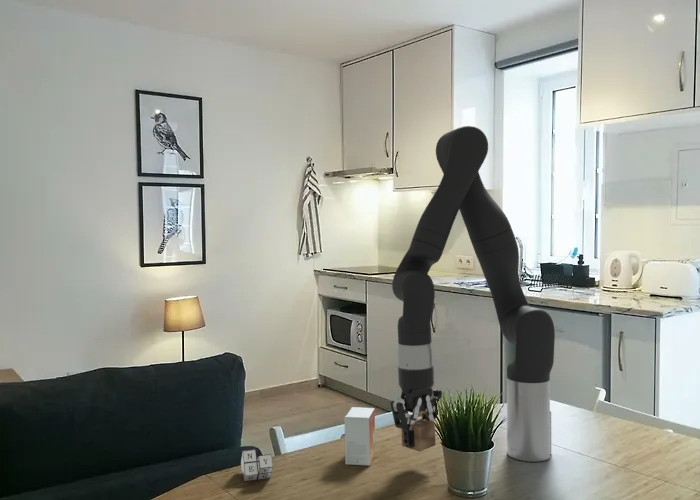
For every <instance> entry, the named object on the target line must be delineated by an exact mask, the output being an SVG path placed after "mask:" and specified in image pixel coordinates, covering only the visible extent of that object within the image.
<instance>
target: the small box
mask: <svg viewBox="0 0 700 500" xmlns="http://www.w3.org/2000/svg"><path fill="white" fill-rule="evenodd" d="M343 419H344V460H345V463H344V464H345V465H347V466H348V465H351V466H353V465H354V466H370V465H371V464H372V461H373V459H374V457H375V454H376V423H375V422H376V408H374V407H359V406H357V407H356V406H355V407H354V406H352V407H350V409H349V411H348V412H347V414H346V415H345V416H344V418H343Z"/></svg>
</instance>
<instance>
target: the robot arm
mask: <svg viewBox="0 0 700 500" xmlns="http://www.w3.org/2000/svg"><path fill="white" fill-rule="evenodd" d="M488 152H489V142H488V138H487V136H486V134H485V132H484V131H483V130H482V129H480V128H479V127H476V126H474V125H465V126H461V127H457V128H455V129H453V130H451V131H448V132H445V133H444V134H442V135H441V136H440V138H439V139H438V140H437V143H436V146H435V156H436V161H437V163H438V165H439V168H440V169H441V172H442V173H443V175H442V179H441V180H440V182H439V185H438V187H437V189H436V191H435V193H434V195H433V196H432V198H431V199H430V200H429V202H428V203H427V205H426V207H425V209H424V210H423V212H422V214H421V216H420V218H419V220H418V222H417V225H416V228H415V230H414V233H413V236H412V238H411V239H412V240H411V242H410V245H409V248H408V250H407V252H405V255H404V256H403V257H402V260H401V261H400V263H399V264H398V267H397V268H396V270H395V273H394V275H393V280H392V284H391V288H392V292H393V295H394V296H395V297H396V299H398V300H399V301H401V302H403V303H402V304H403V305H402V309H403V310H402V315H401V316H400V317H399V318H398V320H397V338H398V339H397V343H398V344H397V345H398V346H397V373H398V374H397V375H398V376H397V377H398V386H399V387H400V390H401V393H400V398H399V399H398V400H391V401H390V408H391V413H392V416H393V417H392V418H393V422H394V426H395V427H396V428H397V429H403V437H404V438H403V439H404V444H405V446H406V447H405V448H407V447H409V448H408V449H410V448H413V447H414V430H413V428H414V423H415V420H416V419H417V418H419V414H420V418H422V419H426V420H429V421H433V422H435V420H436V419H438V418H437V415H438V410H437V403H436V400H437V402H438V401H439V399H440V398H441V399H442V396H443V391H442V390H440V389H435V388H432V387H434V385H435V373H434V372H435V370H434V351H433V344H432V327H431V325H432V324H431V323H432V317H433V310H434V305H435V297H436V296H435V295H436V292H435V285H434V282H433V279H432V277H431V276H430V275H429V274H428V273H429V271H430V270H431V268H432V266H434V265H435V264H436V263H438V262H439V261H440V260H441V258H442V255H443V253H444V251H445V247H446V244H447V242H448V239H449V237H450V234H451V230H452V228H453V225H454V223H455V220H456V218H457V215H458V213H459V211H460V215H461V217H462V220H463V223H464V225H465V228H466V231H467V234H468V237H469V239H470V242H471V245H472V247H473V251H474V253H475V255H476V258H477V260H478V263H479V265H480V267H481V270H482V274H483V276H484V278H485V281H486V284H487V286H488V288H489V291H490V294H491V298H492V300H493V304H494V308H495V313H496V316H497V320H498V323H499V328H500V331H501V334H502V335H503V337H504V338H505V339H506V340H507V341H508V342H509V343H511V344H512V345H515V354H514V360H513V362H510V363H508V365H507V366H506V435H507V436H506V439H507V441H506V443H507V444H506V447H507V448H506V449H507V450H506V453H507V455H508V456H509V457H511V458H513V459H515V460H519V461H522V462H530V463H532V462H533V463H535V462H544V461H547V460H548V459H550V458H551V454H552V412H551V395H550V394H551V393H550V391H551V388H550V387H551V386H550V385H551V384H550V383H551V382H550V381H551V376H550V375H551V372H552V369H553V367H554V360H555V339H556V335H555V334H556V332H555V324H554V321H553V319H552V316H551V315H550V314H549V313H548V312H547V311H545V310H543V309H541V308H537V307H532V306H530V305H529V302H528V300H527V298H526V295H525V293H524V291H523V289H522V285H521V281H520V276H519V275H520V274H519V269H520V268H519V267H520V266H519V264H520V255H519V254H520V252H519V246H518V242H517V239H516V237H515V234H514V232H513V231H514V230H513V229H512V226H511V224H510V221H509V219H508V217H507V215H506V214H505V212H504V211H503V210H502V208H501V207H500V206H499V205H498V203H497V202H496V201H495V200H494V199H493V197H492V196H491V195H490V193H489V192H488V190H487V189H486V187H485V185H484V183H483V181H482V177H481V176H480V175H481V174H480V173H479V171H480V169H481V167H482V165H483V164H484V162H485V160H486V158H487V156H488ZM408 420H409V424H407V422H408Z"/></svg>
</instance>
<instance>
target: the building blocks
mask: <svg viewBox="0 0 700 500" xmlns="http://www.w3.org/2000/svg"><path fill="white" fill-rule="evenodd" d="M241 453H242V454H241V459H240V469H241V475H242V476H243V481H244V482H249V481H250V482H252V481H258V480H266V479H271V476H272V473H273V468H274V465H273V458H272V454H261V455H257V451H256V449H254V448H253V449H247V450H242V452H241Z"/></svg>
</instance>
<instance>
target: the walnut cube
mask: <svg viewBox="0 0 700 500" xmlns="http://www.w3.org/2000/svg"><path fill="white" fill-rule="evenodd" d="M409 420H410V419H408V422H407V424H409ZM435 425H436V423H435V421H434V422H433V421H429V420H426V419H422V418H421V417H418V418H417V419H416V420H415V423H414V428H413V430H414V447H413V448H409V447H406V446H405V444H404V439H403V438H404V437H403V429H401V428H400V429H401V447H404V448H406V449H407V448H408V449H410V450H414V451H416V452H422V451H424V450H428V449H430V448H432V447H435V446H436V427H435Z"/></svg>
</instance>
